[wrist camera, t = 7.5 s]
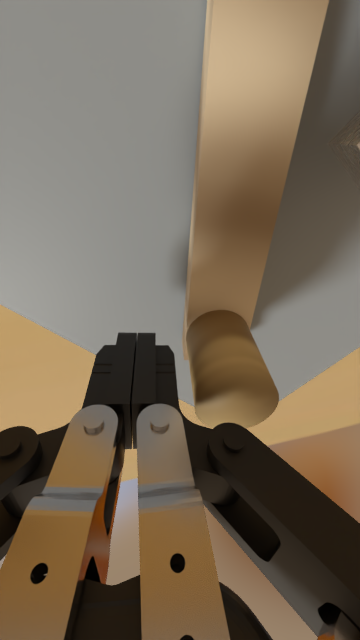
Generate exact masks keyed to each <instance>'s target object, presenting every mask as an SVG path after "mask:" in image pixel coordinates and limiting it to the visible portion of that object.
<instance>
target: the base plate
mask: <svg viewBox="0 0 360 640" xmlns="http://www.w3.org/2000/svg"><path fill="white" fill-rule="evenodd" d="M206 9H207V0H0V304H1V305H2V306H4V307H6V308H8V309H10V310H12V311H14V312H16V313H18V314H19V315H21V316H23V317H25V318H27V319H29V320H31V321H33V322H35V323H36V324H38V325H40V326H42V327H44V328H46V329H48V330H50V331H52V332H54V333H55V334H57V335H59V336H61V337H63V338H65V339H67V340H69V341H71V342H72V343H74V344H76V345H78V346H80V347H82V348H84V349H86V350H88V351H90V352H91V353H93V354H95V355H96V354H97V353H98V352H99V351H100V349H101V348H102V347H103V346H104V345H116V341H117V336H118V332H126V333H137V335H138V333H156V345H169V347H170V348H171V350H172V351H173V353H174V356H175V367H176V379H177V390H178V398H179V399H180V400H182V401H184V402H186V403H188V404H190V405H192V406H194V399H193V391H192V383H191V375H190V368H189V360H184V356H183V347H182V334H183V321H184V307H185V294H186V280H187V267H188V253H189V240H190V226H191V212H192V199H193V185H194V172H195V158H196V145H197V131H198V118H199V104H200V91H201V77H202V64H203V50H204V37H205V23H206ZM359 110H360V0H329V3H328V7H327V11H326V16H325V20H324V24H323V28H322V32H321V36H320V41H319V45H318V49H317V53H316V57H315V61H314V65H313V70H312V74H311V78H310V82H309V86H308V90H307V94H306V99H305V103H304V107H303V111H302V115H301V119H300V124H299V128H298V132H297V136H296V140H295V144H294V148H293V153H292V157H291V161H290V165H289V169H288V173H287V177H286V182H285V186H284V190H283V194H282V198H281V202H280V207H279V211H278V215H277V219H276V223H275V227H274V231H273V236H272V240H271V244H270V248H269V252H268V256H267V260H266V265H265V269H264V273H263V277H262V281H261V285H260V290H259V294H258V298H257V302H256V306H255V310H254V314H253V319H252V323H251V327H250V332H251V334H252V336H253V338H254V340H255V342H256V345H257V347H258V349H259V351H260V353H261V355H262V358H263V360H264V362H265V364H266V366H267V368H268V371H269V373H270V375H271V377H272V379H273V381H274V384H275V386H276V388H277V390H278V393H279V401H280V400H282V399H283V398H285V397H286V396H287V395H289V394H290V393H292V392H293V391H295V390H296V389H298V388H299V387H301V386H302V385H304V384H305V383H307V382H308V381H310V380H311V379H313V378H314V377H316V376H317V375H319V374H320V373H322V372H323V371H325V370H326V369H327V368H329V367H330V366H332V365H333V364H335V363H336V362H338V361H339V360H341V359H342V358H344V357H345V356H347V355H348V354H350V353H351V352H353V351H354V350H356V349H357V348H359V347H360V190H359V188H358V187H357V185H356V184H355V183H354V181H353V180H352V178H351V177H350V175H349V174H348V173H347V171H346V170H345V168H344V167H343V165H342V164H341V162H340V161H339V160H338V158H337V157H336V155H335V154H334V152H333V151H332V150H331V148H330V147H329V145H328V143H329V141H330V140H331V139H332V138H333V137H334V136H335V135H336V134H337V133H338V132H339V131H340V130H341V129H342V128H343V127H344V126H345V125H346V124H347V123H348V122H349V121H350V120H351V118H352V117H353V116H354V115H355V114H356V113H357V112H358V111H359Z"/></svg>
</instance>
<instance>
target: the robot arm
mask: <svg viewBox="0 0 360 640" xmlns="http://www.w3.org/2000/svg"><path fill="white" fill-rule="evenodd" d="M132 438H133V449H137V463H138V506H139V546H140V575H139V576H136V577H134V578H131V579H129V580H127V581H124V582H122V583H120V584H117V585H113V586H111V585H106V580H107V574H108V567H109V557H110V543H111V535H112V529H113V523H114V517H115V511H116V505H117V500H118V494H119V488H120V483H121V477H122V468H123V463H124V453H125V449H132ZM203 504H204V505H205V507H206V508H207V509H208V510H209V511H210V512H211V514H212V515H213V516H214V517H215V518H216V519H217V521H218V522H219V523H220V524H221V525H222V526H223V528H224V529H225V530H226V531H227V532H228V533H229V534H230V536H231V537H232V538H233V539H234V540H235V541H236V543H237V544H238V545H239V546H240V547H241V548H242V550H243V551H244V552H245V553H246V554H247V555H248V557H249V558H250V559H251V560H252V561H253V562H254V564H255V565H256V566H257V567H258V568H259V569H260V570H261V572H262V573H263V574H264V575H265V576H266V578H267V579H268V580H269V581H270V582H271V583H272V584H273V586H274V587H275V588H276V589H277V590H278V592H279V593H280V594H281V595H282V596H283V597H284V599H285V600H286V601H287V602H288V603H289V604H290V606H291V607H292V608H293V609H294V610H295V611H296V612H297V614H298V615H299V616H300V617H301V618H302V619H303V621H304V622H305V623H306V624H307V625H308V626H309V628H310V629H311V630H312V631H313V632H314V633H315V635H316V636H317V637H318V638H317V640H360V523H358V522H357V521H356V520H355V519H354V518H352V517H351V516H350V515H349V514H348V513H346V512H345V511H344V510H343V509H342V508H340V507H339V506H338V505H337V504H336V503H334V502H333V501H332V500H331V499H330V498H328V497H327V496H326V495H325V494H324V493H322V492H321V491H320V490H319V489H318V488H316V487H315V486H314V485H313V484H311V482H309V481H308V480H307V479H306V478H305V477H303V476H302V475H301V474H300V473H299V472H297V471H296V470H295V469H294V468H292V467H291V466H290V465H289V464H288V463H287V462H285V461H284V460H283V459H282V458H281V457H279V456H278V455H277V454H276V453H275V452H273V451H272V450H271V449H270V448H269V447H267V446H266V445H265V444H264V443H263V442H261V441H260V440H259V439H258V438H257V437H255V436H254V435H253V434H252V433H251V432H249V431H248V430H247V429H246V428H244V427H243V426H241V425H238V424H235V423H229V422H228V423H221V424H219V425H217V426H215V427H214V428H213V429H210V428H206V427H203V426H199V425H196V424H194V423H192V422H191V421H189V420H188V419H187V418H186V417H185V416H184V415H183V414H182V412H181V410H180V408H179V401H178V390H177V379H176V367H175V356H174V353H173V351H172V350H171V348H170V347H169V345H156V333H138V335H137V333H126V332H118V336H117V341H116V345H104V346H103V347H102V348H101V349H100V351H99V352H98V353H97V354H96V358H95V362H94V366H93V369H92V374H91V377H90V381H89V384H88V388H87V392H86V396H85V399H84V403H83V407H82V409H81V410H80V411H79V412H77V413H76V414H75V415H74V417H73V418H72V420H71V422H70V423H68V424H67V425H65V426H63V427H61V428H58V429H55V430H51V431H48V432H45V433H41V434H38V435H37V434H36V432H35V431H34V430H33V429H31V428H29V427H25V426H17V427H12V428H8V429H6V430H3V431H1V432H0V560H1V559H2V558H3V557H4V556H5V555H6V554H7V555H6V557H5V560H4V562H3V564H2V567H1V569H0V640H273V639H272V638H271V637H270V635H269V634H268V632H267V631H266V630H265V628H264V627H263V626H262V624H261V623H260V622H259V620H258V619H257V617H256V616H255V615H254V613H253V612H252V611H251V609H250V608H249V607H248V606H247V605H246V604H245V603H244V601H243V600H242V599H241V598H240V597H239V596H238V595H237V594H235V593H234V592H233V591H232V590H231V589H229V588H228V587H227V586H225V585H224V584H222V583H221V582H219V581H218V576H217V571H216V566H215V561H214V556H213V551H212V546H211V541H210V535H209V531H208V525H207V521H206V516H205V511H204V505H203Z"/></svg>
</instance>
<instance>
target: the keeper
mask: <svg viewBox="0 0 360 640" xmlns="http://www.w3.org/2000/svg"><path fill="white" fill-rule="evenodd" d="M328 145H329V147H330V148H331V150H332V151H333V152H334V154H335V155H336V157H337V158H338V160H339V161H340V162H341V164H342V165H343V167H344V168H345V170H346V171H347V173H348V174H349V175H350V177H351V178H352V180H353V181H354V183H355V184H356V185H357V187H358V188H359V190H360V110H359V111H358V112H357V113H356V114H355V115H354V116H353V117H352V118H351V120H350V121H349V122H348V123H347V124H346V125H345V126H344V127H343V128H342V129H341V130H340V131H339V132H338V133H337V134H336V135H335V136H334V137H333V138H332V139H331V140H330V141H329V143H328Z"/></svg>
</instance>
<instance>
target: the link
mask: <svg viewBox="0 0 360 640" xmlns="http://www.w3.org/2000/svg"><path fill="white" fill-rule="evenodd" d="M328 3H329V0H207V9H206V23H205V37H204V50H203V64H202V77H201V91H200V104H199V118H198V131H197V145H196V158H195V172H194V185H193V199H192V212H191V226H190V240H189V253H188V267H187V280H186V294H185V307H184V321H183V334H182V347H183V356H184V360H189V368H190V375H191V383H192V391H193V399H194V407H195V413H196V415H197V417H198V419H199V420H200V421H201V422H202V423H203V424H205V425H207V426H208V427H211V428H214V427H215V426H217V425H219V424H221V423H228V422H229V423H235V424H238V425H241V426H243V427H244V428H249V427H252V426H254V425H257V424H259V423H260V422H262V421H264V420H265V419H266V418H268V417H269V416H270V415H271V414H272V413H273V412H274V410H275V409H276V407H277V405H278V402H279V393H278V390H277V388H276V386H275V384H274V381H273V379H272V377H271V375H270V373H269V371H268V368H267V366H266V364H265V362H264V360H263V358H262V355H261V353H260V351H259V349H258V347H257V345H256V342H255V340H254V338H253V336H252V334H251V332H250V327H251V323H252V319H253V314H254V310H255V306H256V302H257V298H258V294H259V290H260V285H261V281H262V277H263V273H264V269H265V265H266V260H267V256H268V252H269V248H270V244H271V240H272V236H273V231H274V227H275V223H276V219H277V215H278V211H279V207H280V202H281V198H282V194H283V190H284V186H285V182H286V177H287V173H288V169H289V165H290V161H291V157H292V153H293V148H294V144H295V140H296V136H297V132H298V128H299V124H300V119H301V115H302V111H303V107H304V103H305V99H306V94H307V90H308V86H309V82H310V78H311V74H312V70H313V65H314V61H315V57H316V53H317V49H318V45H319V41H320V36H321V32H322V28H323V24H324V20H325V16H326V11H327V7H328Z"/></svg>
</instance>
